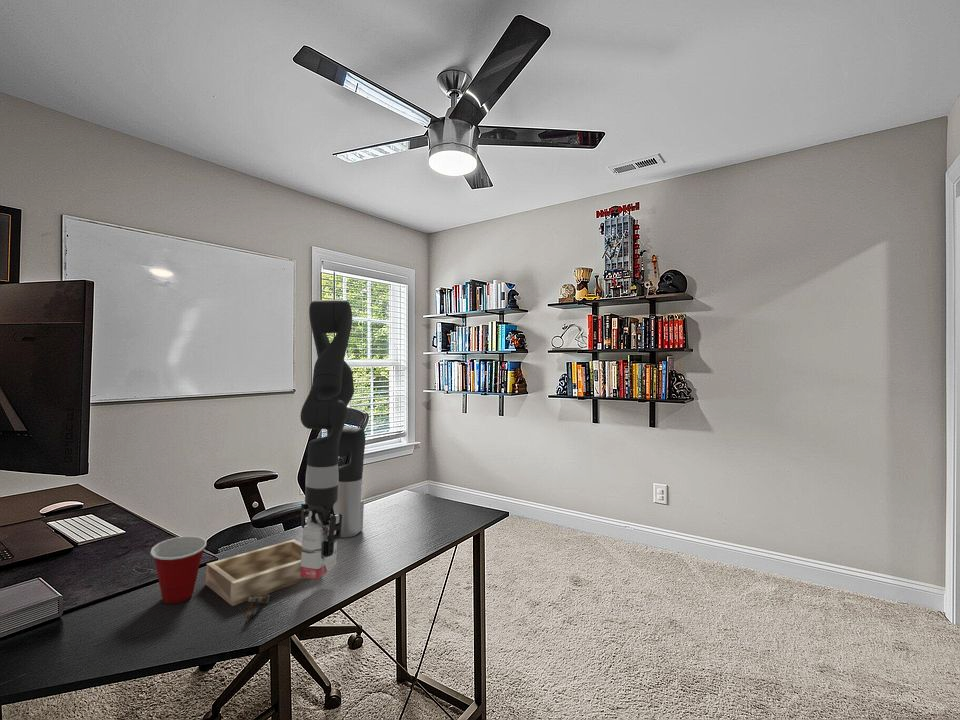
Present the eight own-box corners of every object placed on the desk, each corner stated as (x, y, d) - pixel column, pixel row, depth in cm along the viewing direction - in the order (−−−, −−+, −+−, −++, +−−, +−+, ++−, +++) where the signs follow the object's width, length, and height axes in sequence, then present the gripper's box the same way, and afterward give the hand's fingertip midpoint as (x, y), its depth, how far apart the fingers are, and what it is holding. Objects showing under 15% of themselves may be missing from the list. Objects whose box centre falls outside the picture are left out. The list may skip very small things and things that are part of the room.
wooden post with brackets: (240, 618, 101) (246, 594, 103) (257, 615, 108) (262, 593, 110) (249, 619, 101) (254, 595, 103) (265, 616, 108) (269, 593, 110)
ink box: (319, 580, 112) (320, 529, 112) (299, 577, 114) (300, 527, 113) (337, 564, 121) (338, 517, 121) (319, 562, 122) (320, 515, 122)
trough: (293, 557, 134) (293, 539, 134) (322, 574, 125) (323, 554, 125) (205, 584, 116) (206, 563, 116) (232, 606, 107) (233, 583, 107)
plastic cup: (140, 612, 103) (142, 556, 103) (158, 588, 114) (160, 537, 113) (197, 607, 106) (199, 552, 106) (210, 584, 117) (212, 534, 116)
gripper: (353, 486, 115) (350, 555, 115) (319, 474, 124) (316, 538, 125) (325, 492, 109) (322, 565, 110) (291, 479, 118) (289, 547, 119)
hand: (319, 551), depth 117 cm, fingers closed on ink box, 6 cm apart
